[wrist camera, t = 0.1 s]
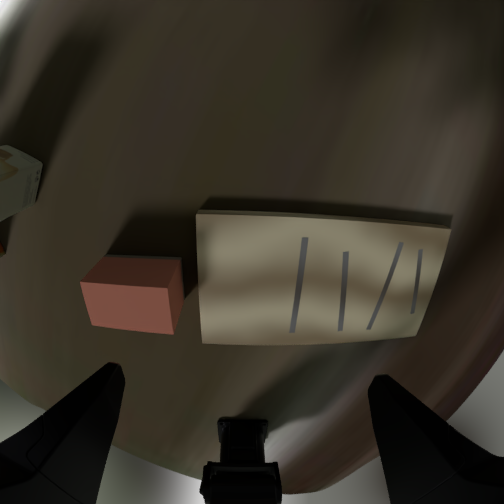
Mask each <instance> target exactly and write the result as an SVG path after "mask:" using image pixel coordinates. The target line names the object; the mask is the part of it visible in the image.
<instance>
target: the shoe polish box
mask: <svg viewBox="0 0 504 504" xmlns="http://www.w3.org/2000/svg"><path fill="white" fill-rule="evenodd" d="M4 254H6V253H5V250H4V248H3V246H2V244H1V242H0V257H2V256H3V255H4Z"/></svg>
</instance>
